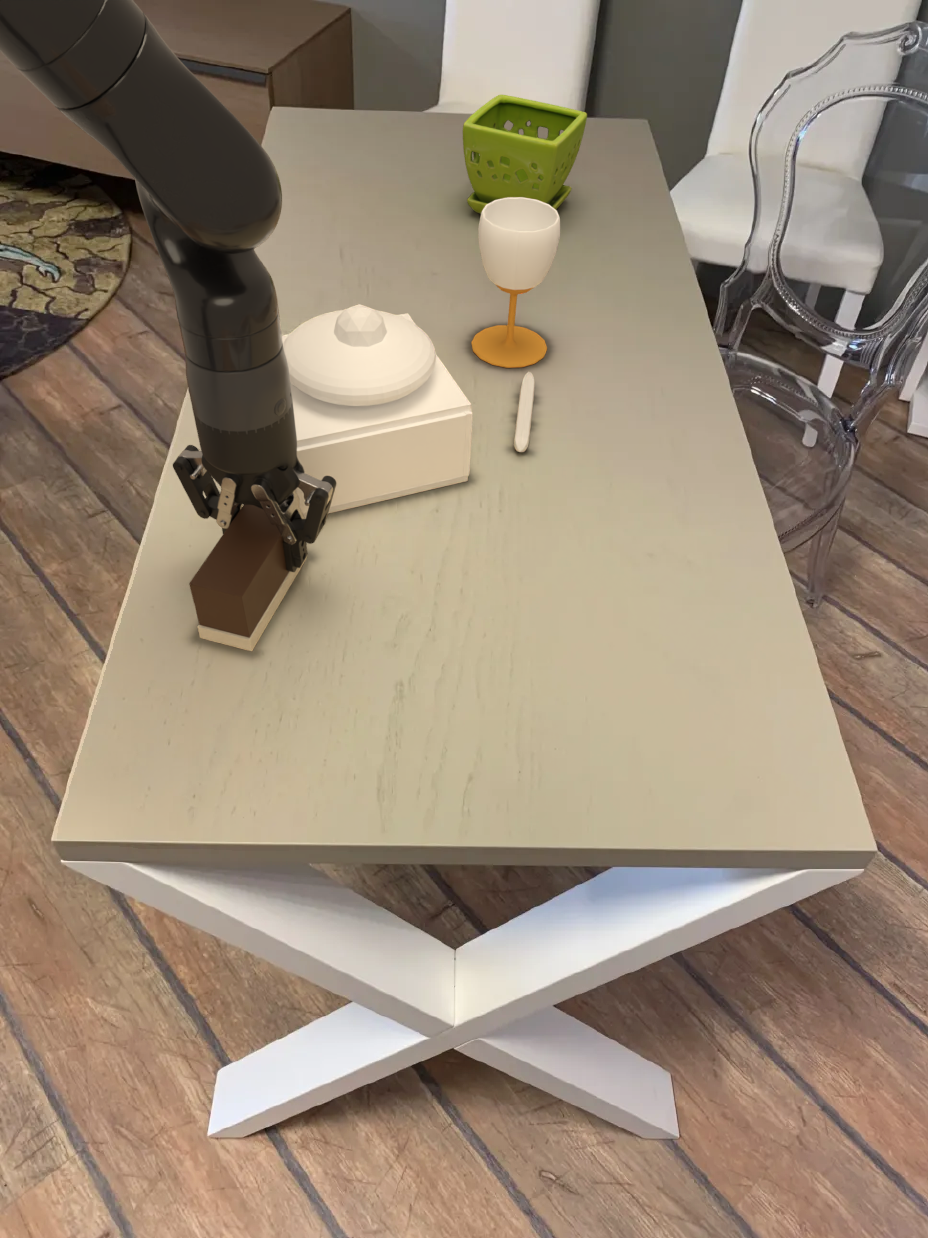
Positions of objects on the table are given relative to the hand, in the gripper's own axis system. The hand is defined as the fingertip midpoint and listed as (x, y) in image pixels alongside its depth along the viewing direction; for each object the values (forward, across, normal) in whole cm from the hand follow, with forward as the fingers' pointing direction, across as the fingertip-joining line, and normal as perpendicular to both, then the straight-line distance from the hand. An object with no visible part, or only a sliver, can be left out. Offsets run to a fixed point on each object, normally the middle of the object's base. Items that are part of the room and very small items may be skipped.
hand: (267, 558), depth 84 cm
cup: (+2, -11, -44) cm, 45 cm away
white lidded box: (+2, -1, -20) cm, 20 cm away
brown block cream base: (+2, 0, +3) cm, 4 cm away
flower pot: (+2, -3, -80) cm, 80 cm away
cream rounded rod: (+2, -16, -31) cm, 35 cm away
